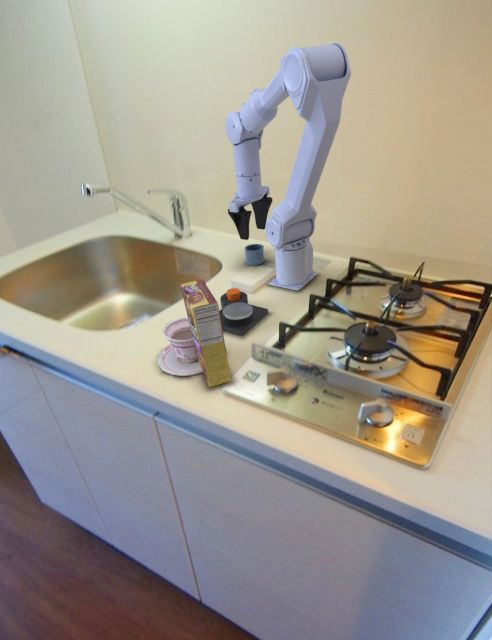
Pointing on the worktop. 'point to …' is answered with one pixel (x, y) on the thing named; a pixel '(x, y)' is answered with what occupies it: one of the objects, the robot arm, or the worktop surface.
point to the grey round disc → (237, 310)
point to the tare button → (233, 294)
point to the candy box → (206, 331)
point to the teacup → (179, 349)
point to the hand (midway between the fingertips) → (253, 233)
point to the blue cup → (254, 254)
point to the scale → (240, 325)
